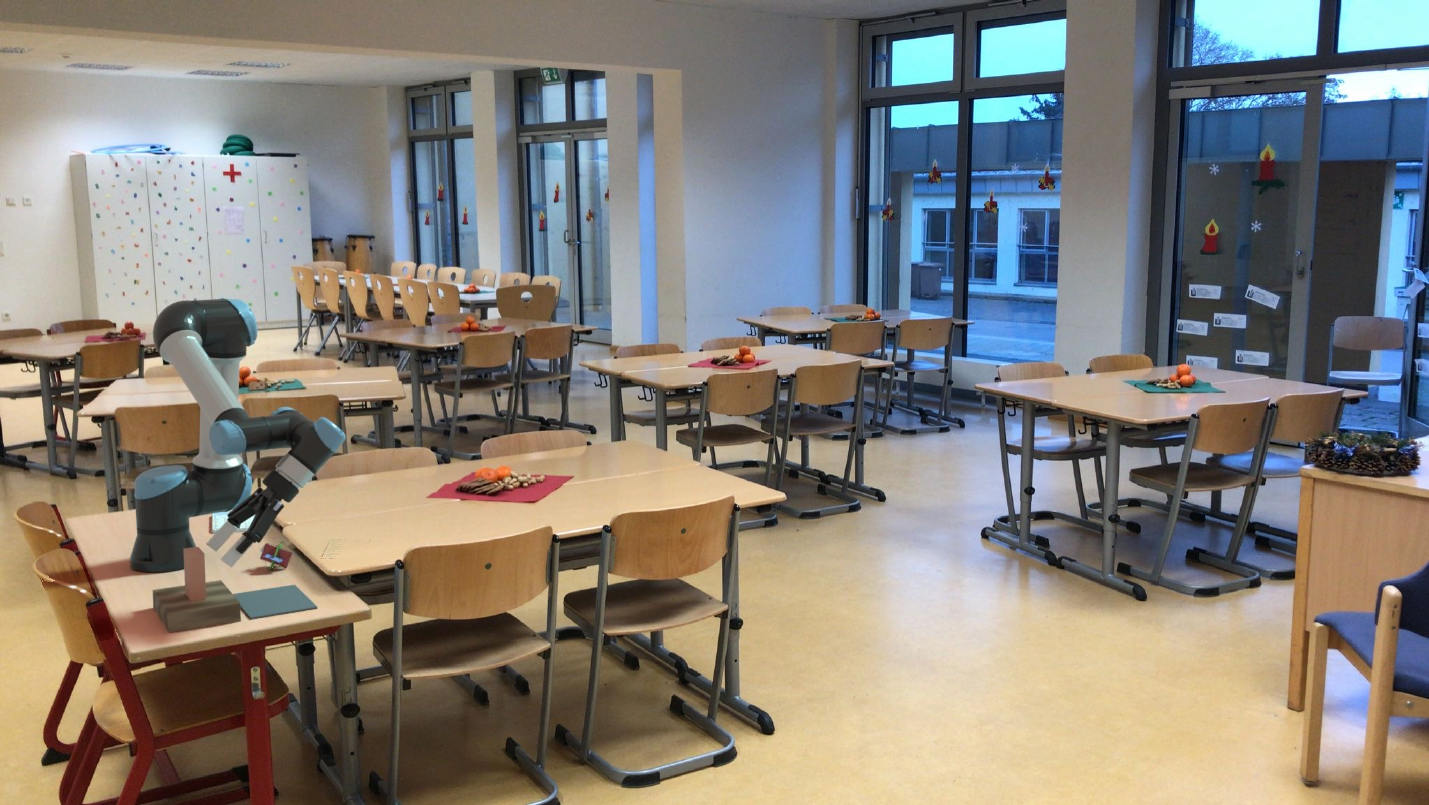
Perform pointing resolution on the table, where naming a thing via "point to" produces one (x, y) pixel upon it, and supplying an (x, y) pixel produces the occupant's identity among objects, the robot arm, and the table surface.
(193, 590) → the salmon pink brick
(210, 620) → the brown flat block
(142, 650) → the table surface
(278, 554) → the geometric puzzle
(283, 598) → the mat
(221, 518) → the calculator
